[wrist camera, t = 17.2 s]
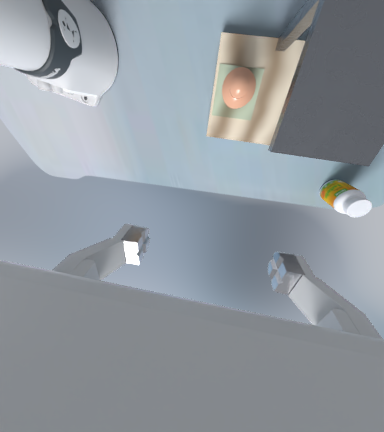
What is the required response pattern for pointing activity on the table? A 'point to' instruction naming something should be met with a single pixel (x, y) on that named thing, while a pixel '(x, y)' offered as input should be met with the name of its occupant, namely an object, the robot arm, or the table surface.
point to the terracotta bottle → (238, 88)
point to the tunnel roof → (335, 83)
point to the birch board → (264, 92)
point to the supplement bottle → (345, 198)
